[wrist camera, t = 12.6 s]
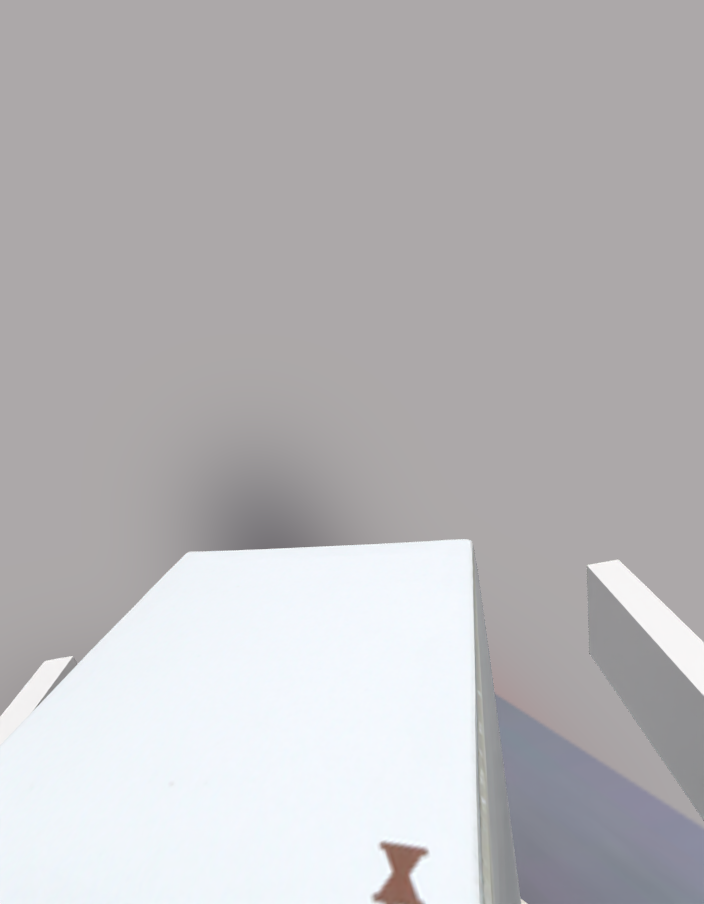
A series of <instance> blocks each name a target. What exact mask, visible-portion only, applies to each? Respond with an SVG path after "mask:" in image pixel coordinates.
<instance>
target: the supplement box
mask: <svg viewBox="0 0 704 904" xmlns="http://www.w3.org/2000/svg"><path fill="white" fill-rule="evenodd" d="M0 904H521V898H520V891H519V884H518V876H517V868H516V860H515V852H514V844H513V836H512V829H511V821H510V814H509V806H508V798H507V789H506V781H505V773H504V764H503V756H502V748H501V739H500V732H499V724H498V716H497V709H496V701H495V693H494V685H493V678H492V670H491V662H490V656H489V648H488V641H487V634H486V627H485V619H484V612H483V605H482V598H481V591H480V584H479V576H478V569H477V563H476V558H475V552H474V547H473V543H472V541H470V540H467V539H460V540H438V541H424V542H406V543H389V544H388V543H387V544H367V545H349V546H348V545H346V546H327V547H326V546H325V547H304V548H284V549H283V548H282V549H259V550H237V551H205V552H189V553H186V554H185V555H184V556H183V557H182V558H181V559H180V560H179V561H178V562H177V563H176V564H175V565H174V566H173V567H172V568H171V569H170V570H169V571H168V572H167V573H166V574H165V575H164V576H163V577H162V578H161V579H160V580H159V581H158V582H157V583H156V584H155V585H154V586H153V587H152V588H151V589H150V590H149V591H148V592H147V593H146V595H144V596H143V598H142V599H141V600H140V601H139V602H138V603H137V604H136V605H135V606H134V607H133V608H132V609H131V610H130V611H129V612H128V613H127V614H126V615H125V616H124V617H123V618H122V619H121V620H120V621H119V622H118V623H117V624H116V625H115V626H114V627H113V628H112V629H111V630H110V631H109V632H108V633H107V634H106V635H105V637H103V638H102V640H101V641H100V642H99V643H98V644H97V645H96V646H95V647H94V648H93V649H92V650H91V651H90V652H89V653H88V654H87V655H86V656H85V657H84V658H83V659H82V660H81V661H80V662H79V663H78V664H77V665H76V666H75V667H74V669H73V670H72V671H71V672H70V673H69V674H68V675H67V676H66V677H65V678H64V679H63V680H62V681H61V682H60V683H59V684H58V685H57V686H56V687H55V689H54V690H53V691H52V692H51V693H50V694H49V695H48V696H47V697H46V698H45V699H44V700H43V701H42V702H41V703H40V704H39V705H38V706H37V707H36V708H35V709H34V710H33V712H32V713H31V714H30V715H29V716H28V717H27V718H26V719H25V720H24V721H23V722H22V723H21V724H20V725H19V726H18V727H17V728H16V729H15V730H14V731H13V732H12V733H11V734H10V735H9V737H8V738H7V739H6V740H5V741H4V742H3V743H2V744H1V745H0Z"/></svg>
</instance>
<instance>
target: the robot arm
mask: <svg viewBox="0 0 704 904" xmlns="http://www.w3.org/2000/svg"><path fill="white" fill-rule="evenodd" d="M587 588H588V590H587V591H588V625H589V654H590V655H591V657H592V658H593V659H594V661H595V662H596V664H597V665H598V667H599V668H600V670H601V671H602V673H603V674H604V676H605V677H606V679H607V680H608V681H609V683H610V684H611V686H612V687H613V689H614V690H615V691H616V693H617V695H618V696H619V697H620V699H621V700H622V702H623V703H624V705H625V706H626V708H627V709H628V710H629V712H630V713H631V715H632V717H633V718H634V719H635V721H636V722H637V724H638V725H639V727H640V728H641V729H642V731H643V732H644V734H645V736H646V737H647V738H648V740H649V741H650V743H651V744H652V746H653V747H654V749H655V750H656V751H657V753H658V754H659V756H660V757H661V759H662V760H663V762H664V763H665V765H666V766H667V768H668V769H669V771H670V772H671V774H672V775H673V776H674V778H675V779H676V781H677V782H678V784H679V785H680V787H681V788H682V789H683V791H684V793H685V794H686V795H687V797H688V798H689V800H690V801H691V803H692V804H693V806H694V807H695V809H696V810H697V811H698V813H699V814H700V816H701V817H702V819H703V820H704V642H703V641H702V640H701V639H700V638H699V637H698V636H697V635H696V634H695V633H693V632H692V631H691V630H690V629H689V628H688V627H687V626H686V625H685V624H684V623H683V622H682V621H681V620H680V619H679V618H678V617H677V616H676V615H675V614H674V613H673V612H672V611H671V610H670V609H669V608H668V607H667V606H666V605H665V604H664V603H663V602H661V600H659V599H658V598H657V597H656V596H655V595H654V594H653V593H652V592H651V591H650V590H649V589H648V588H647V587H646V586H645V585H644V584H643V583H642V582H641V581H640V580H639V579H638V578H637V577H636V576H635V575H634V574H633V573H632V572H631V571H629V570H628V568H626V567H625V566H624V565H623V564H622V563H621V562H620V561H619V560H613V561H608V562H602V563H596V564H591V565H587ZM76 665H77V662H76V660H75V658H74V656H70V657H65V658H59V659H53V660H48V661H45V662H44V663H43V664H42V665H41V666H40V668H39V669H38V670H37V671H36V673H35V674H34V675H33V677H32V678H31V679H30V680H29V681H28V683H27V684H26V685H25V686H24V688H23V689H22V690H21V691H20V693H19V694H18V695H17V696H16V698H15V699H14V700H13V701H12V703H11V704H10V705H9V706H8V708H7V709H6V710H5V712H4V713H3V714H2V715H1V716H0V745H1V744H2V743H3V742H4V741H5V740H6V739H7V738H8V737H9V735H10V734H11V733H12V732H13V731H14V730H15V729H16V728H17V727H18V726H19V725H20V724H21V723H22V722H23V721H24V720H25V719H26V718H27V717H28V716H29V715H30V714H31V713H32V712H33V710H34V709H35V708H36V707H37V706H38V705H39V704H40V703H41V702H42V701H43V700H44V699H45V698H46V697H47V696H48V695H49V694H50V693H51V692H52V691H53V690H54V689H55V687H56V686H57V685H58V684H59V683H60V682H61V681H62V680H63V679H64V678H65V677H66V676H67V675H68V674H69V673H70V672H71V671H72V670H73V669H74V667H75V666H76Z"/></svg>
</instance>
